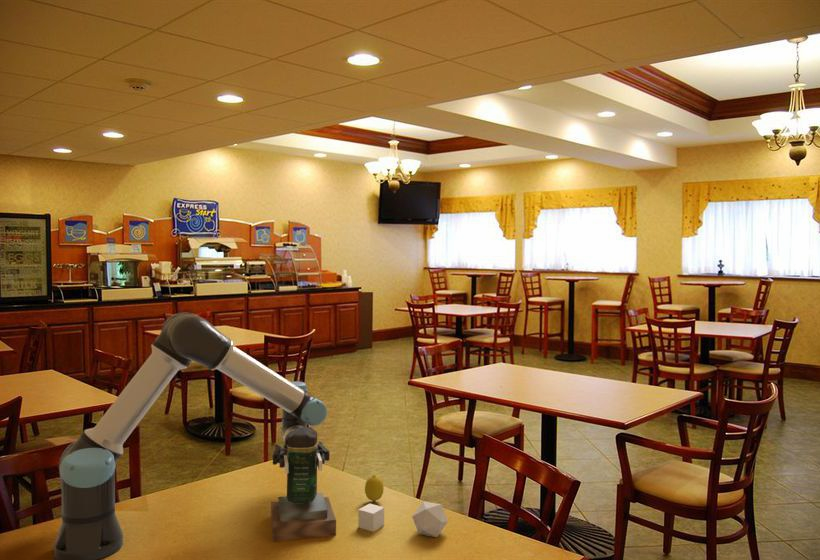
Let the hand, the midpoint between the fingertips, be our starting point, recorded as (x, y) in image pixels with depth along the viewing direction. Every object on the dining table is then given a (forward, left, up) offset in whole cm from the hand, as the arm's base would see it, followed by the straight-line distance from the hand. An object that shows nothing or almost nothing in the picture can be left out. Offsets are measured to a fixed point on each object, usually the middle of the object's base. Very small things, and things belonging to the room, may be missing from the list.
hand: (303, 466), depth 162 cm
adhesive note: (+18, 0, -18) cm, 25 cm away
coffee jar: (0, +5, -10) cm, 11 cm away
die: (+32, -8, -18) cm, 37 cm away
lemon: (+22, +16, -18) cm, 32 cm away
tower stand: (0, +5, -17) cm, 18 cm away
